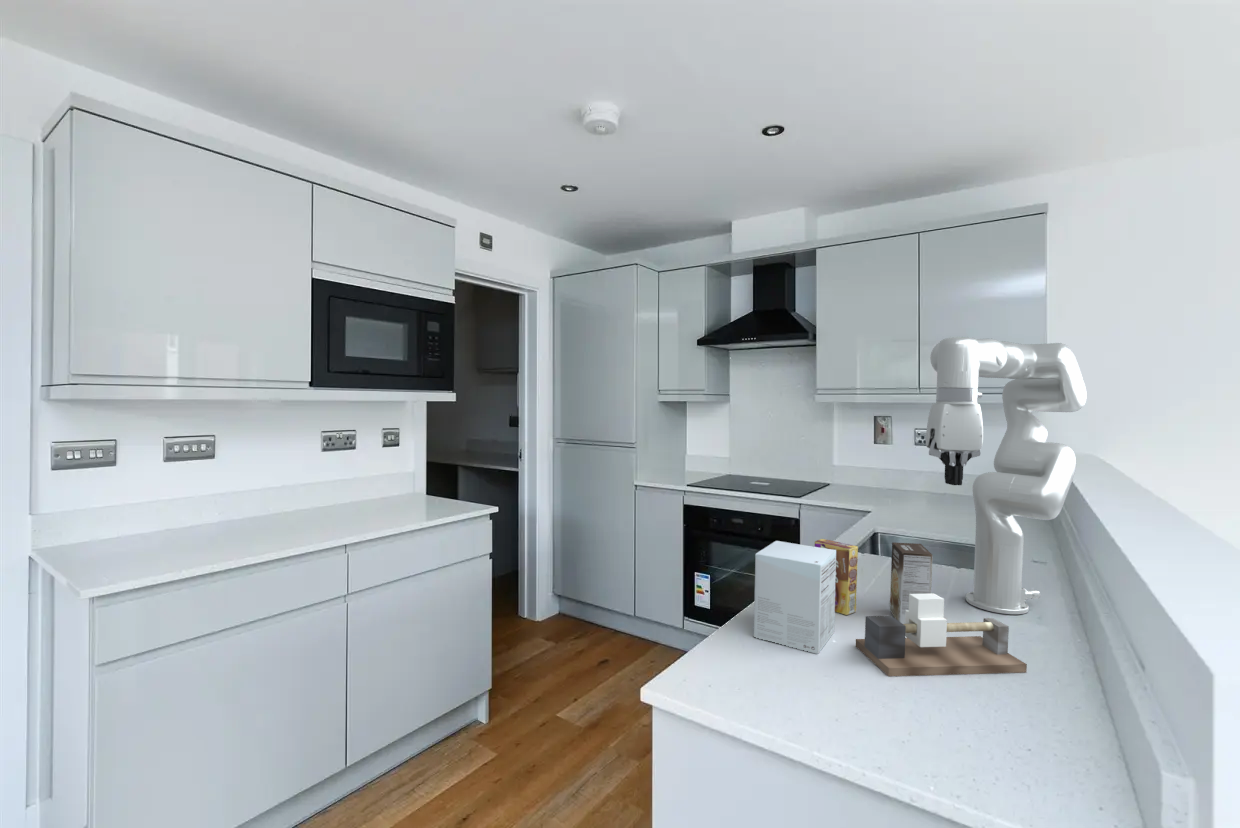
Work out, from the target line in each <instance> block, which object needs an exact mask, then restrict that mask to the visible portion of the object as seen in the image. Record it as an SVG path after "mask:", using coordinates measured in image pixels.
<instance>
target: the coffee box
mask: <svg viewBox="0 0 1240 828" xmlns="http://www.w3.org/2000/svg"><path fill="white" fill-rule="evenodd" d="M933 558H934V557H933V553H931V552H930V551H929V550H928V549H927V548H926V547H925V546H924V544H922V543H914V542H912V543H911V542H909V543H908V542H892V543H891V568H890V570H891V571H890V596H889V597H890V598H889V599H890V600H889V610H890V612H891V614H892V615H893V617H894V618H895V619H896V620H898V621H899V622H901V623H902V624H905V611H906V610H909V594H931V593H932V578H933V576H932V575H933Z"/></svg>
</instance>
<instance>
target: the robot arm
mask: <svg viewBox="0 0 1240 828" xmlns="http://www.w3.org/2000/svg"><path fill="white" fill-rule="evenodd" d="M930 364H931V366H932V368H933V370H934V371H935V372H936V392H935V393H936V394H935V396H936V397H935V402H933V403H931V406H930V409H929V413H928V417H927V425H926V432H925V445H926V448H928V449H929V450H928V455H929V456H932V457H936V458H938V459H939V460H940V462H941V464H943V465H944V483H945V484H946V485H951V486H962V485H963V478H964V467H966V466H967V463H968V462H969V460H971V459H973V458H977V457H980V456H981V449H982V448H983V444H984V443H983V442H984V424H983V413H982V408H981V404H980V403H978V400H979V399H982V397H983V393H982V392H981V391H979V378H987V379H1010V381H1008V382H1007V383H1005V384H1004V387H1003V389H1002V394H1001V395H1002V396H1001V398H1002V406H1003V411H1004V416H1005V421H1006V431H1005V433H1004V435H1003V437H1002V439H1001V441H1000V444H999V446H998V449H997V451H996V453H995V456H994V459H993V468H994V471H992V472H990V471H989V472H984V473H981V474H979V475H978V476H977V477H976V478H975V479H974V481H973V484H972V499H973V503H974V510H975V511H974V512H975V538H974V539H975V541H974V542H975V543H974V544H975V545H974V565H973V566H974V567H973V568H974V569H973V570H974V571H973V591H969V592H967V593H966V594H965V600H966V602H967V603H968V604H970V605H972V606H974V607H976V608H978V609H980V610H984V611H988V612H992V613H997V614H1003V615H1023V614H1026V613H1028V612H1029V611H1030V610H1029V609H1030V607H1029V604H1028V603H1027V602H1026V600H1027V601H1028V599H1031V600H1032V599H1033V600H1034V599H1036V600H1038V599H1040V598H1041V592H1040V591H1039V590H1037V589H1036V590H1035V589H1034V590H1033V589H1032V590H1031V589H1030V590H1027V589H1026V588H1025V587H1022V586H1023V585H1022V582H1023V562H1024V561H1023V560H1024V558H1023V557H1024V538H1025V537H1024V532H1023V530H1022V527H1021V526H1020V524H1019V523H1018V521H1017V520H1016V517H1022V518H1029V519H1034V520H1035V519H1036V520H1041V521H1043V520H1044V521H1050V520H1054V519H1056V518H1057V517H1058V516H1059V515H1060V513H1061V511H1062V509H1063V506H1064V504H1065V501H1066V499H1067V496H1068V493H1069V491H1070V488H1071V486H1072V482H1073V481H1074V477H1075V474H1076V468H1077V459H1076V454H1075V452H1074V450H1073V449H1072V447H1070V446H1068V445H1067V444H1064V443H1060V442H1051V441H1050V442H1049V441H1047V439H1048V436H1049V435H1048V434H1049V433H1048V429H1047V428H1046V426H1045V425H1044V424H1043V423H1042V421H1041V420H1040V419H1039V418H1038V417H1036V416H1035V415H1033V413H1032V412H1050V413H1073V412H1077V411H1080V410H1082V408H1084V406H1085V404H1086V402H1087V396H1088V395H1087V393H1088V392H1087V387H1086V383H1085V381H1084V378H1083V374H1082V371H1081V368H1080V365H1079V363H1078V360H1077V357H1076V355H1075V353H1074V351H1073V350H1072V349H1071V347H1070V346H1069V345H1067V344H1066V343H1062V342H1053V343H1051V342H1050V343H1034V344H1033V343H1031V344H1030V343H1024V344H1023V343H1018V342H1011V341H1003V340H1002V341H1001V340H997V339H995V338H974V337H968V336H967V337H963V336H961V337H960V336H959V337H958V336H957V337H948V338H944V339H943V338H942V339H941V340H940V341H939V342H938V343H936V345H935V346H933V348H932V350H931V353H930ZM1014 516H1015V517H1014Z"/></svg>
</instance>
